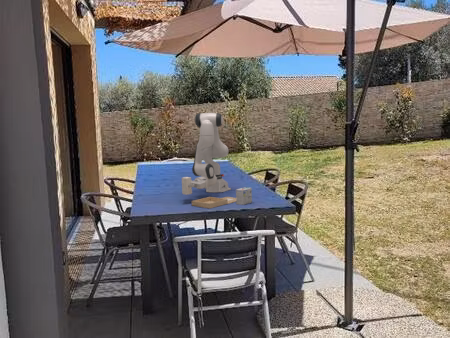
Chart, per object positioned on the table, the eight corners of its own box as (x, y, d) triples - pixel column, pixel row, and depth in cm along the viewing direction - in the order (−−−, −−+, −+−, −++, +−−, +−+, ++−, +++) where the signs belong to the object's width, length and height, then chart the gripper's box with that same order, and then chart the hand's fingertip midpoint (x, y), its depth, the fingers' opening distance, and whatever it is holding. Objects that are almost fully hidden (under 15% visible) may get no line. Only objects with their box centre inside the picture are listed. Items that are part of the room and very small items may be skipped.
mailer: (227, 197, 348) (226, 192, 348) (244, 199, 336) (244, 195, 336) (191, 205, 321) (191, 200, 321) (209, 208, 309) (209, 203, 309)
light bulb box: (245, 201, 330) (244, 187, 328) (252, 202, 326) (252, 187, 324) (236, 204, 322) (235, 189, 320) (243, 205, 317) (243, 190, 316)
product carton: (187, 192, 334) (186, 176, 332) (192, 193, 330) (191, 177, 329) (182, 194, 330) (181, 177, 328) (187, 194, 327) (186, 178, 325)
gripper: (189, 177, 345) (176, 180, 335) (208, 180, 331) (195, 182, 321) (190, 185, 346) (176, 188, 336) (209, 188, 332) (195, 191, 322)
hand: (185, 185), depth 329 cm, fingers closed on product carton, 5 cm apart
